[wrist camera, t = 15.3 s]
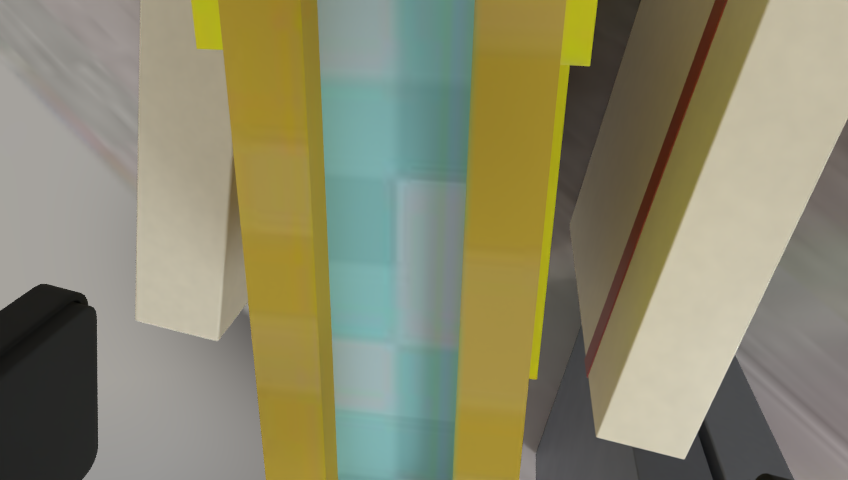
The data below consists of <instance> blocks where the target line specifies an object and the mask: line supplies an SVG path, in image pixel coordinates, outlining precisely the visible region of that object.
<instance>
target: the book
mask: <svg viewBox="0 0 848 480" xmlns="http://www.w3.org/2000/svg"><path fill="white" fill-rule="evenodd" d="M597 2H598V0H191V4H192V13H193V22H194V30H195V39H196V48H197V49H211V50H223V55H224V65H225V75H226V85H227V95H228V105H229V115H230V125H231V135H232V145H233V155H234V165H235V175H236V185H237V195H238V205H239V215H240V225H241V235H242V245H243V255H244V265H245V275H246V285H247V295H248V305H249V315H250V325H251V335H252V345H253V355H254V364H255V375H256V384H257V394H258V404H259V414H260V424H261V434H262V444H263V454H264V464H265V474H266V480H519V474H520V464H521V454H522V444H523V434H524V424H525V414H526V404H527V393H528V383H529V379H537V374H538V364H539V355H540V345H541V336H542V326H543V317H544V307H545V298H546V288H547V278H548V269H549V259H550V250H551V240H552V231H553V221H554V212H555V202H556V193H557V183H558V174H559V164H560V154H561V145H562V135H563V126H564V116H565V107H566V97H567V88H568V78H569V69H570V65H575V66H590V62H591V53H592V45H593V36H594V28H595V19H596V11H597Z"/></svg>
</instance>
